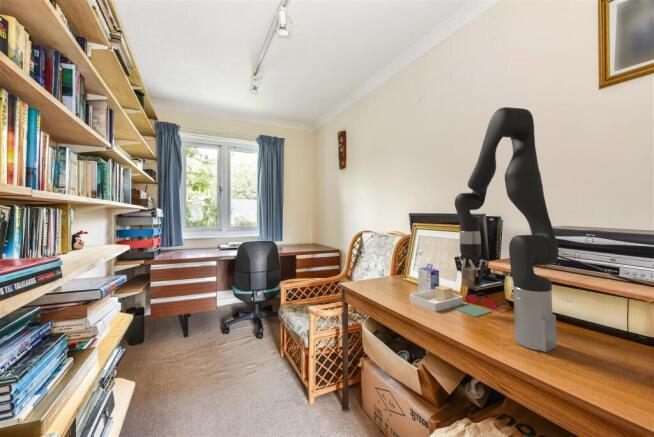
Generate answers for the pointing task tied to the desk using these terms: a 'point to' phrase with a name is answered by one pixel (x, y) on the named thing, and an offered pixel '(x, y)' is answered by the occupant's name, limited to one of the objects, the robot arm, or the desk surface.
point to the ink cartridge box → (427, 278)
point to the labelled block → (468, 277)
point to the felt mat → (472, 310)
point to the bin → (429, 301)
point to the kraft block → (443, 293)
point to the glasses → (486, 302)
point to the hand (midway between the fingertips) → (471, 283)
